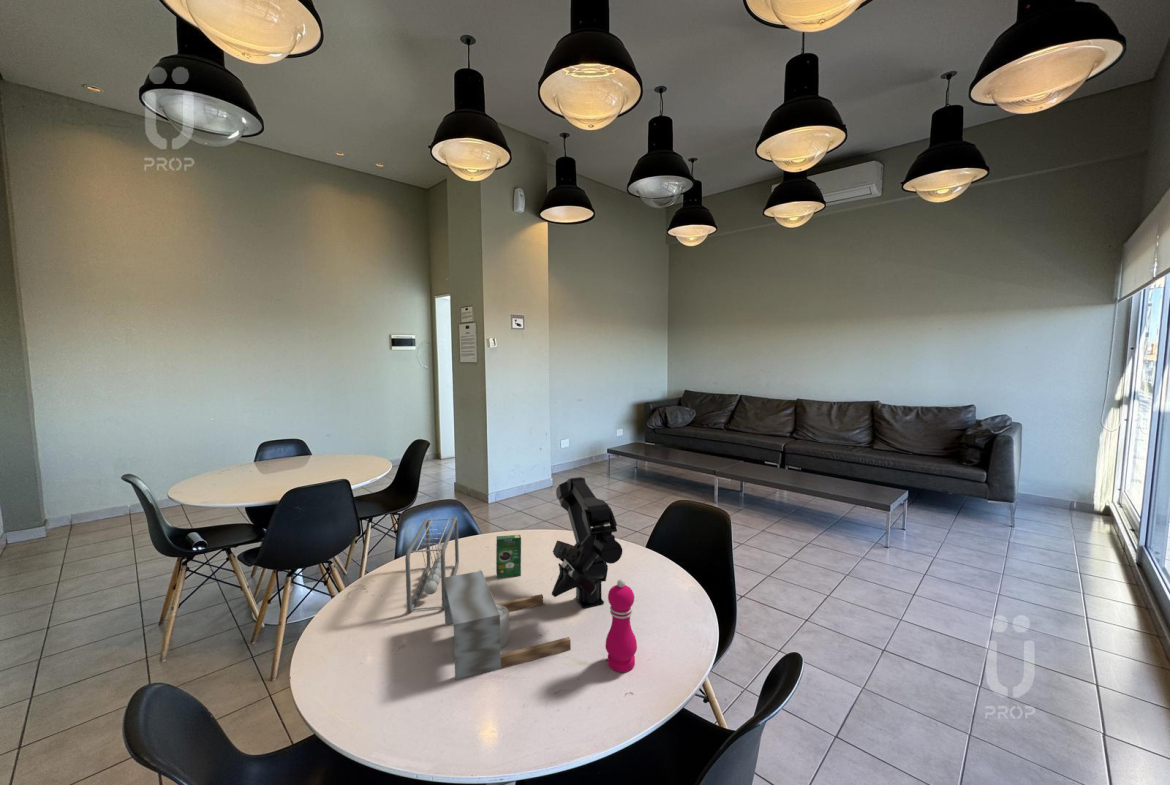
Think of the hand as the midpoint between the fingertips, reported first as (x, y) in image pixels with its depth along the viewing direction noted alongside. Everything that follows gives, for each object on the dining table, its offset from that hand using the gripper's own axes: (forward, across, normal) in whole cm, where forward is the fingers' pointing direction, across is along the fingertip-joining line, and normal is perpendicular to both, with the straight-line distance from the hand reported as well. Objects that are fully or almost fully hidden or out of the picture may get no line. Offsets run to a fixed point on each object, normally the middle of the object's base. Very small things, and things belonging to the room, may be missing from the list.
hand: (553, 595), depth 120 cm
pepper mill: (-1, +21, +13) cm, 24 cm away
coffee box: (+9, -32, +2) cm, 33 cm away
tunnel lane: (+15, 0, -4) cm, 15 cm away
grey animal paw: (+19, 0, -7) cm, 20 cm away
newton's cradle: (+25, -33, -14) cm, 44 cm away
